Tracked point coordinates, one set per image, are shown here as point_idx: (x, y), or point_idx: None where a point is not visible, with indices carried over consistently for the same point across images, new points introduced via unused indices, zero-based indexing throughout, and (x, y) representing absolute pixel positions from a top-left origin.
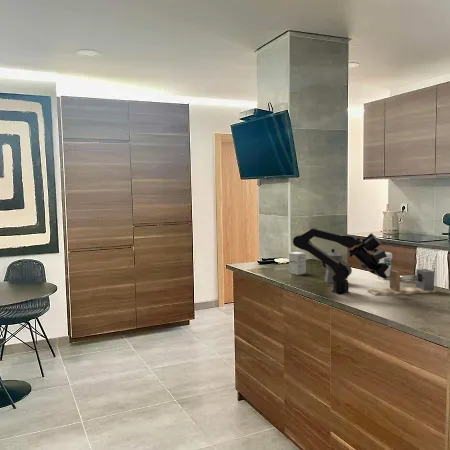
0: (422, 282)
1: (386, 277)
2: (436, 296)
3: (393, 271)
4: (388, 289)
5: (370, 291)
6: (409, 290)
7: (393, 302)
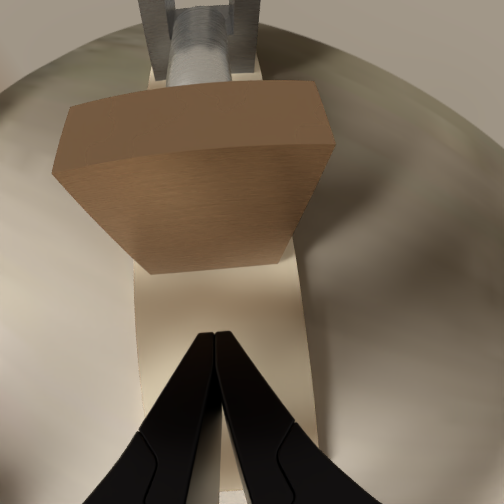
0: (234, 33)
1: (235, 345)
2: (347, 75)
3: (212, 152)
4: (170, 298)
5: (226, 490)
6: None
7: (494, 369)
